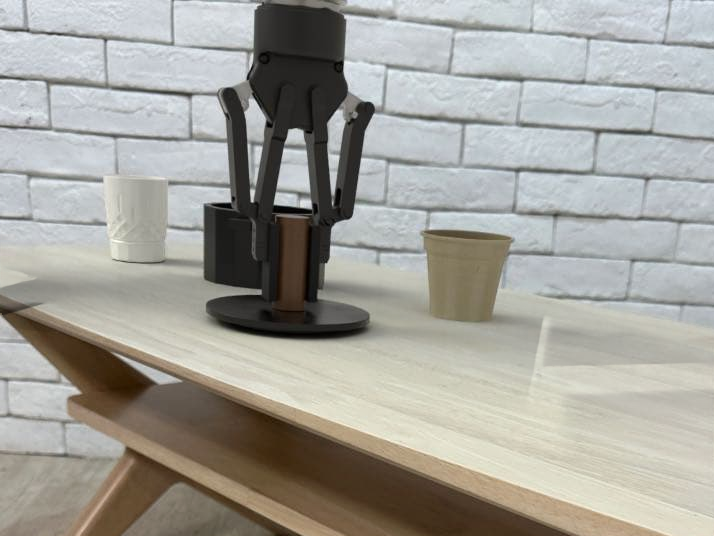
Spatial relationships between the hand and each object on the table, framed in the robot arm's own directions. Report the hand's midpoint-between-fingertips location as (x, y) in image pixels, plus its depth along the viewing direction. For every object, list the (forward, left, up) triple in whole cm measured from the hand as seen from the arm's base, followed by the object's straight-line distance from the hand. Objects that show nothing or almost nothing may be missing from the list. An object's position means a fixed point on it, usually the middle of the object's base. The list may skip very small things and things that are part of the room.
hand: (289, 298), depth 90 cm
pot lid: (0, 0, -1) cm, 1 cm away
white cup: (-30, +36, -3) cm, 47 cm away
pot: (-10, +25, -3) cm, 27 cm away
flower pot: (+14, +14, -3) cm, 20 cm away
